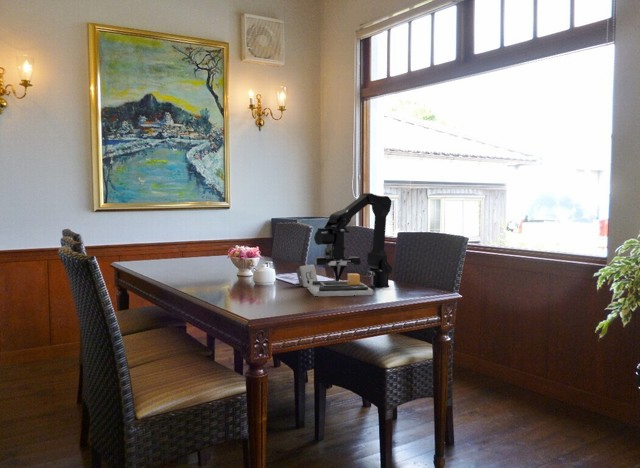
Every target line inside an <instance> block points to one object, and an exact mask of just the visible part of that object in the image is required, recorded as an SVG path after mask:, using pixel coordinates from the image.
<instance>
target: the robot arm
mask: <svg viewBox="0 0 640 468" xmlns="http://www.w3.org/2000/svg"><path fill="white" fill-rule="evenodd" d="M368 205H369V206H371V210H372V213H373V215H374V224H373V240H372V241H373V243H372V249H371V251H368V252H367V258H366V259H367V260H366V262H367V266H368V267H369V271H370V273H371V272H372V275H371V286H373V287H375V288H388V287H389V288H390V285H389V274H391V273H392V270H393V267H392V266H391V265H390V264H389V262H388V255H387V253H386V250H385V241H386V226H387V225H386V224H387V216H388V215H389V213H390V211H391V208H392V199H391V198H390V197H389V196H386V195H377V194H375V193H374V194H373V193H371V192H364V193H362V194H361V195H360V196H359V197H358V198H357V199H355V200H354V201H352V202H351V203H350V204H349V205H348V206H346V207H345V208H343V209H340V210H337V211H335V212H333V213H332V214H330V215H329V217H328V221H326V223H325V225H324V227H323V228H322V227H318V228H317V231H316V232H315V233H314V236H313V239H314V243H315V245H318V246H325V245H327V246H328V245H330V248H324V250H323V251H324V254H323V255H324V256H315V257H314V265H316V266H324V265H326V264H327V266H328V267H330V268H331V271H332V273H333V275H334V276H333V277H334V279H335V281H336V282H338V281H340V278H341V276H342V274H343V272H344V270H345V268H348V265H347V264H353V265H355V266H356V265H360V266H361V265H362V259H361V258H360V257H359V256H349V257H348V258H346V256H345V254H346V252H345V250H346V234H349V233H350V230H349V229H347V227H348V225H349V224H350V223H351V220H352V218H353V217H354V216H356V215H357V214H358V213H359V212H360V211H362V210H363V209H364V208H366V207H367V206H368ZM327 257H328V258H327Z"/></svg>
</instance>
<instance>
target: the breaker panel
mask: <svg viewBox="0 0 640 468" xmlns="http://www.w3.org/2000/svg"><path fill="white" fill-rule="evenodd" d="M307 290H308V291H309V293H311V294H312V296H314V297H315V296H318V297H345V296H346V297H348V296H349V297H350V296H354V295H355V296H374V289H372V288H371V287H369V286H368V285H366V284H364V283H363V282H361V281H360V285H348V279H347V280H345V279H344V280H339V281H338V282H336V280H318V281H312V284H308V287H307Z"/></svg>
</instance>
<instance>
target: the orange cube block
mask: <svg viewBox="0 0 640 468" xmlns="http://www.w3.org/2000/svg"><path fill="white" fill-rule="evenodd" d="M347 280H348V285H360V282H361V275H360V274H359V273H347Z"/></svg>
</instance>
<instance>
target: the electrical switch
mask: <svg viewBox="0 0 640 468" xmlns="http://www.w3.org/2000/svg"><path fill="white" fill-rule="evenodd" d="M295 270H296V276H297V281H298V284H299V285H298V286H299V287H304V288H308V284H312V281H319V280H318V276H317V273H316V267H315V264H307V265H306V264H305V265H301V266H299V268H297V269H295Z"/></svg>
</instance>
